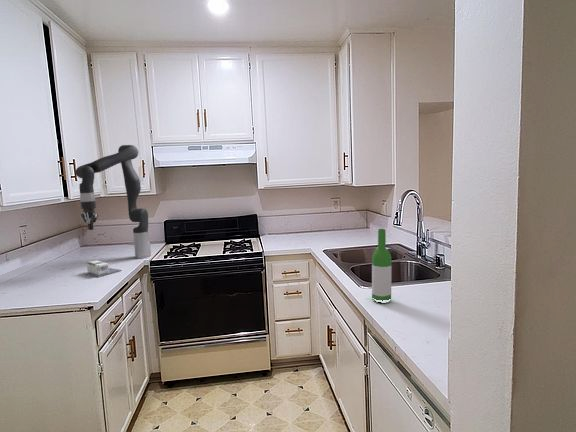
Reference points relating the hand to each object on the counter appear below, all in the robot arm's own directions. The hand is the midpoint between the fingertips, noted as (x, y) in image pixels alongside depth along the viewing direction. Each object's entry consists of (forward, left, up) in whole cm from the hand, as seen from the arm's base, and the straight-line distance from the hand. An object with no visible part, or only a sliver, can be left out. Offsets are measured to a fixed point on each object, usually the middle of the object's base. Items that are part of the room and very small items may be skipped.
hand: (91, 229), depth 204 cm
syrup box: (+4, +4, -21) cm, 21 cm away
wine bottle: (-17, +166, -24) cm, 169 cm away
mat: (+3, +13, -24) cm, 27 cm away
